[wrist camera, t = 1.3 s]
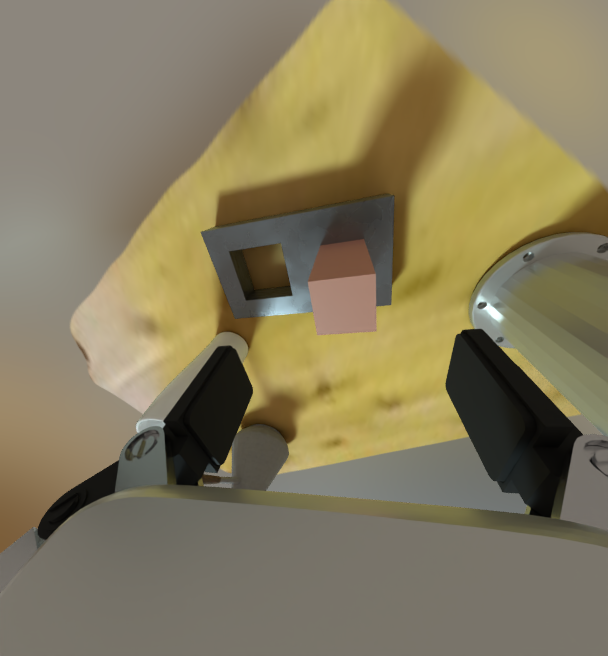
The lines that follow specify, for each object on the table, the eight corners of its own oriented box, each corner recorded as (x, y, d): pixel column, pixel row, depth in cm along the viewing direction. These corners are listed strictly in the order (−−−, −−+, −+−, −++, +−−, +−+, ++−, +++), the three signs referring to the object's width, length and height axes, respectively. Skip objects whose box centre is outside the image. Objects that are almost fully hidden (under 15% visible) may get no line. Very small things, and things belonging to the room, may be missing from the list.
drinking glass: (220, 317, 31) (140, 407, 19) (262, 342, 33) (212, 441, 20) (204, 346, 35) (128, 438, 23) (242, 367, 36) (191, 465, 24)
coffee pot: (300, 447, 47) (285, 542, 35) (256, 452, 51) (228, 539, 39) (246, 378, 38) (199, 475, 25) (196, 390, 42) (134, 480, 29)
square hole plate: (388, 193, 21) (394, 195, 18) (386, 292, 26) (391, 304, 23) (214, 226, 25) (200, 232, 22) (244, 307, 30) (235, 318, 27)
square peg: (363, 238, 20) (375, 273, 13) (365, 280, 22) (376, 331, 15) (320, 245, 21) (307, 281, 14) (325, 285, 23) (317, 335, 16)
